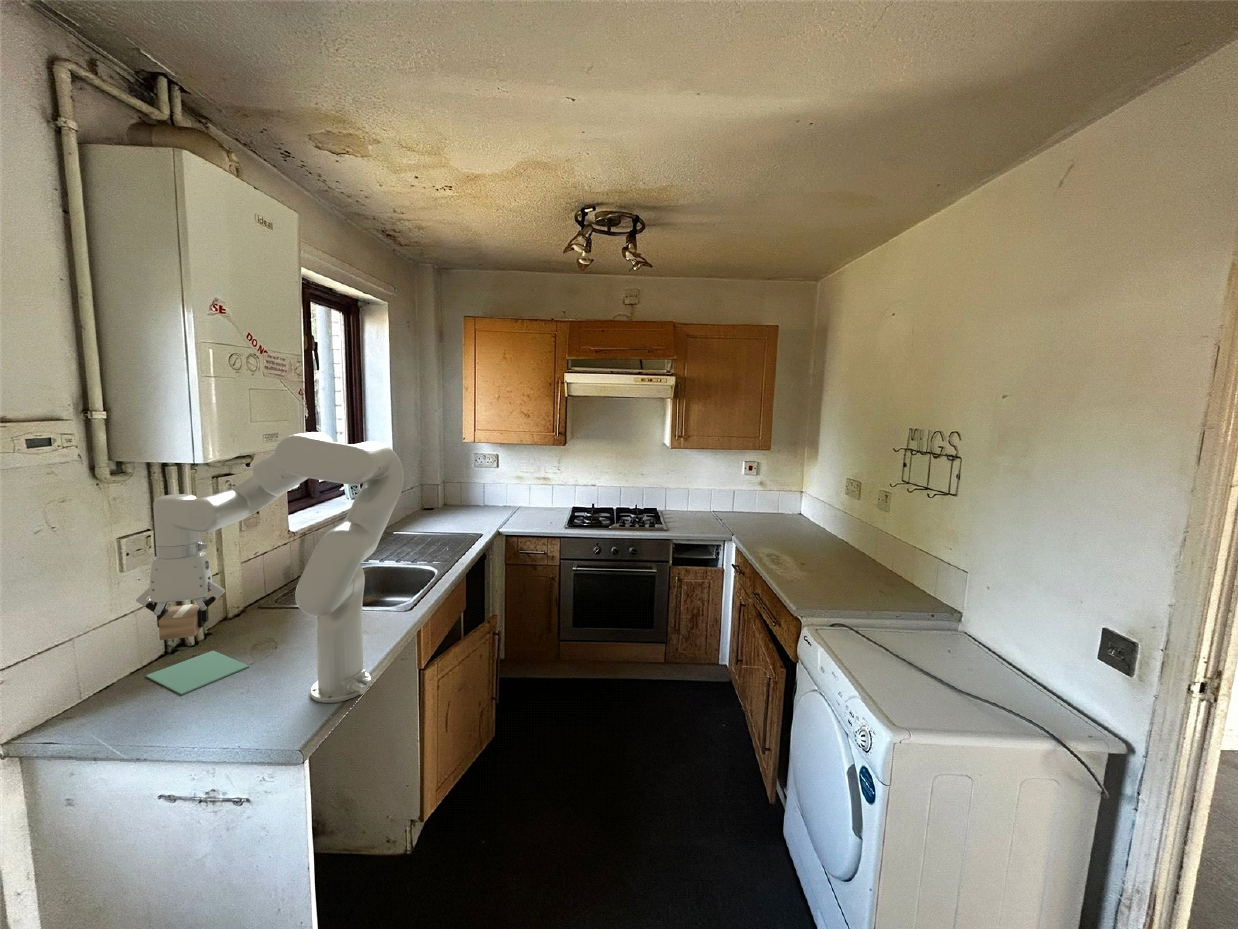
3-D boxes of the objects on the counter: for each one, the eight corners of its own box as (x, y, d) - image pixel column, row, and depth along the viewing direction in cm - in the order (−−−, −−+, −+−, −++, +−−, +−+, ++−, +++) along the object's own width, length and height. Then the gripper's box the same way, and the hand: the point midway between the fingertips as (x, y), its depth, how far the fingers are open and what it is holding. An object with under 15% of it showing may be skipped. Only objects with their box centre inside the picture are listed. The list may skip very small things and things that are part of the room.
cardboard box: (194, 636, 111) (193, 615, 110) (159, 640, 108) (158, 619, 108) (206, 621, 118) (205, 602, 118) (173, 625, 116) (172, 605, 115)
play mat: (248, 667, 126) (248, 665, 126) (181, 695, 114) (181, 693, 114) (213, 651, 133) (213, 650, 133) (146, 676, 120) (145, 675, 120)
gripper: (231, 542, 118) (235, 615, 120) (136, 548, 111) (141, 625, 113) (222, 551, 111) (226, 628, 113) (119, 558, 104) (125, 640, 106)
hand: (183, 626), depth 113 cm, fingers closed on cardboard box, 5 cm apart
